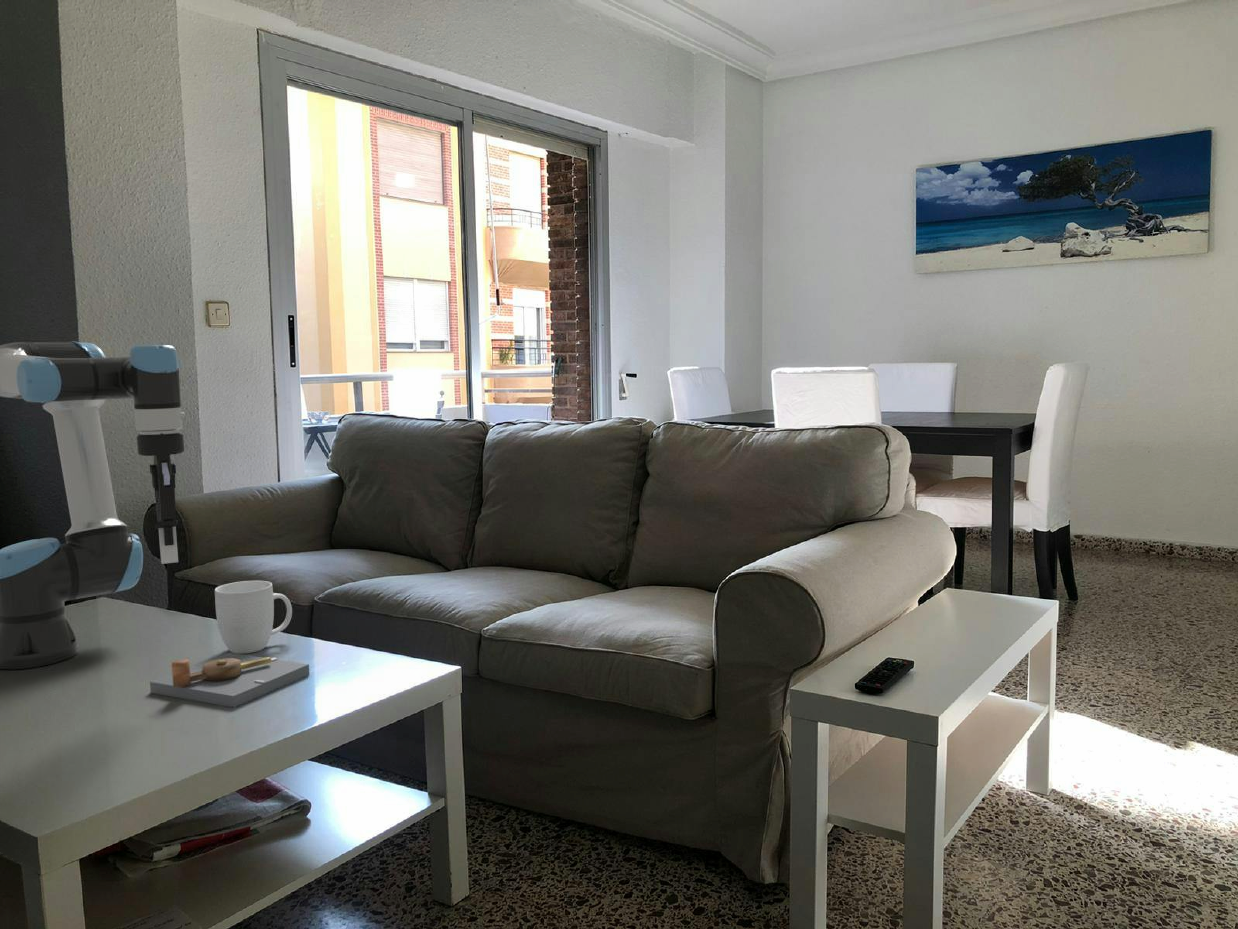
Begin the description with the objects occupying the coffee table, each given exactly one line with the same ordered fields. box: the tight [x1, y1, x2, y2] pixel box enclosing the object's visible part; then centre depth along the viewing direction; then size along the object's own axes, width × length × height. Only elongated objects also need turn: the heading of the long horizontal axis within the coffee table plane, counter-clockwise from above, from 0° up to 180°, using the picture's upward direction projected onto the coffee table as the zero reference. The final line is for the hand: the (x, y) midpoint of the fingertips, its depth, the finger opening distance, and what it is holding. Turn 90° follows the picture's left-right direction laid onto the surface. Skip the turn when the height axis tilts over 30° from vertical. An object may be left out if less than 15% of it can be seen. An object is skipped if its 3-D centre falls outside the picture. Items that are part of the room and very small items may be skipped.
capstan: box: [171, 656, 272, 687], centre depth 173 cm, size 17×6×4 cm, turn 133°
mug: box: [214, 580, 293, 655], centre depth 196 cm, size 15×11×13 cm
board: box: [149, 652, 310, 708], centre depth 175 cm, size 20×18×2 cm
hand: (169, 562), depth 174 cm, fingers closed
